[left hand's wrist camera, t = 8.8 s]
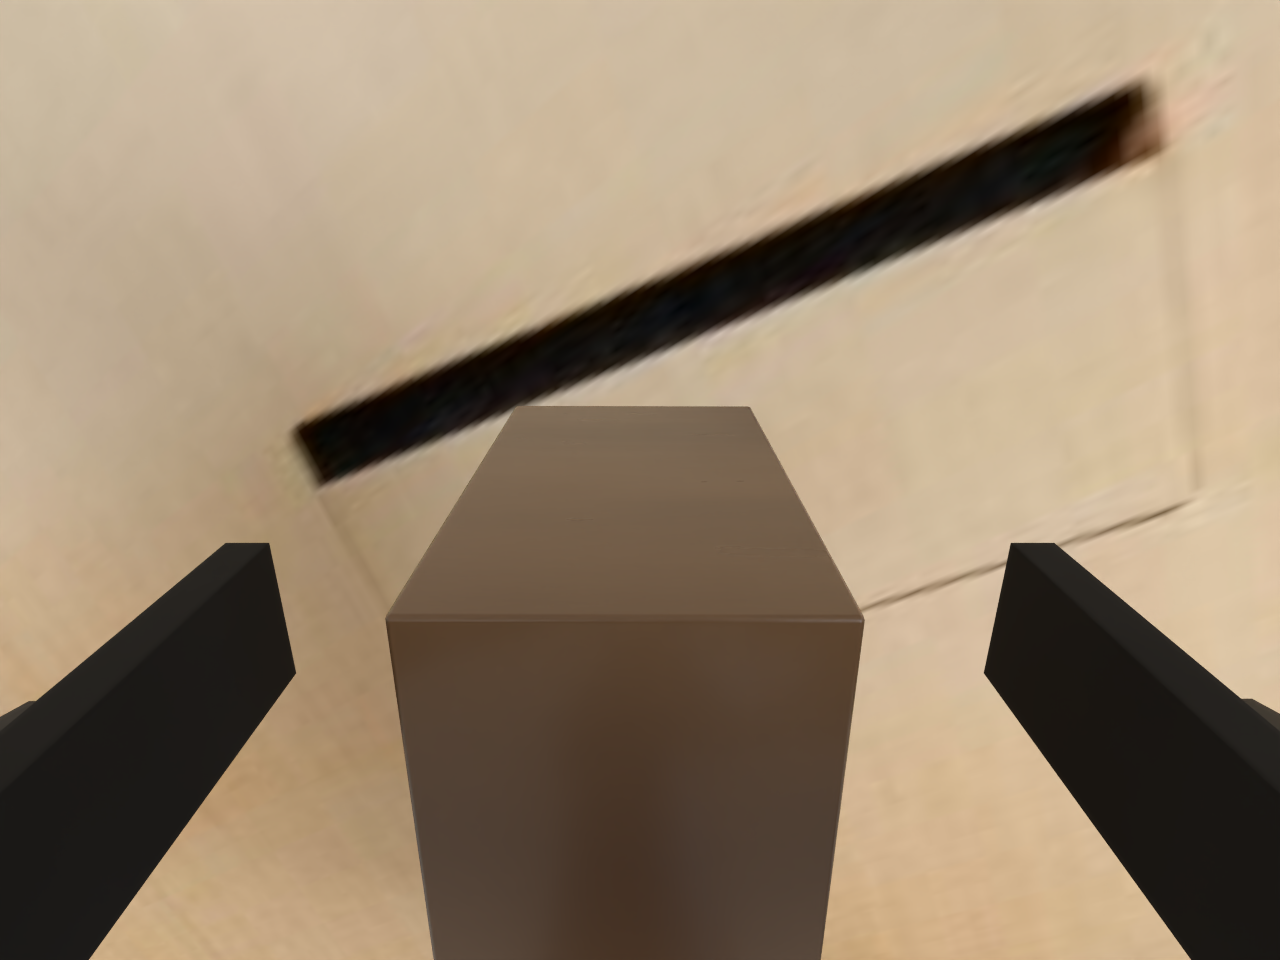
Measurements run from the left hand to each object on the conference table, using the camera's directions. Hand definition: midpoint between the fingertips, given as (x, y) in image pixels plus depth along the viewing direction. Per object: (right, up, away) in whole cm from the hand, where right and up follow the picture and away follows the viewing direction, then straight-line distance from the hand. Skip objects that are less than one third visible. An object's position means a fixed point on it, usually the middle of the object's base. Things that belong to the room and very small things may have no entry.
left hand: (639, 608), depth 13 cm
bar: (0, -9, +7) cm, 11 cm away
